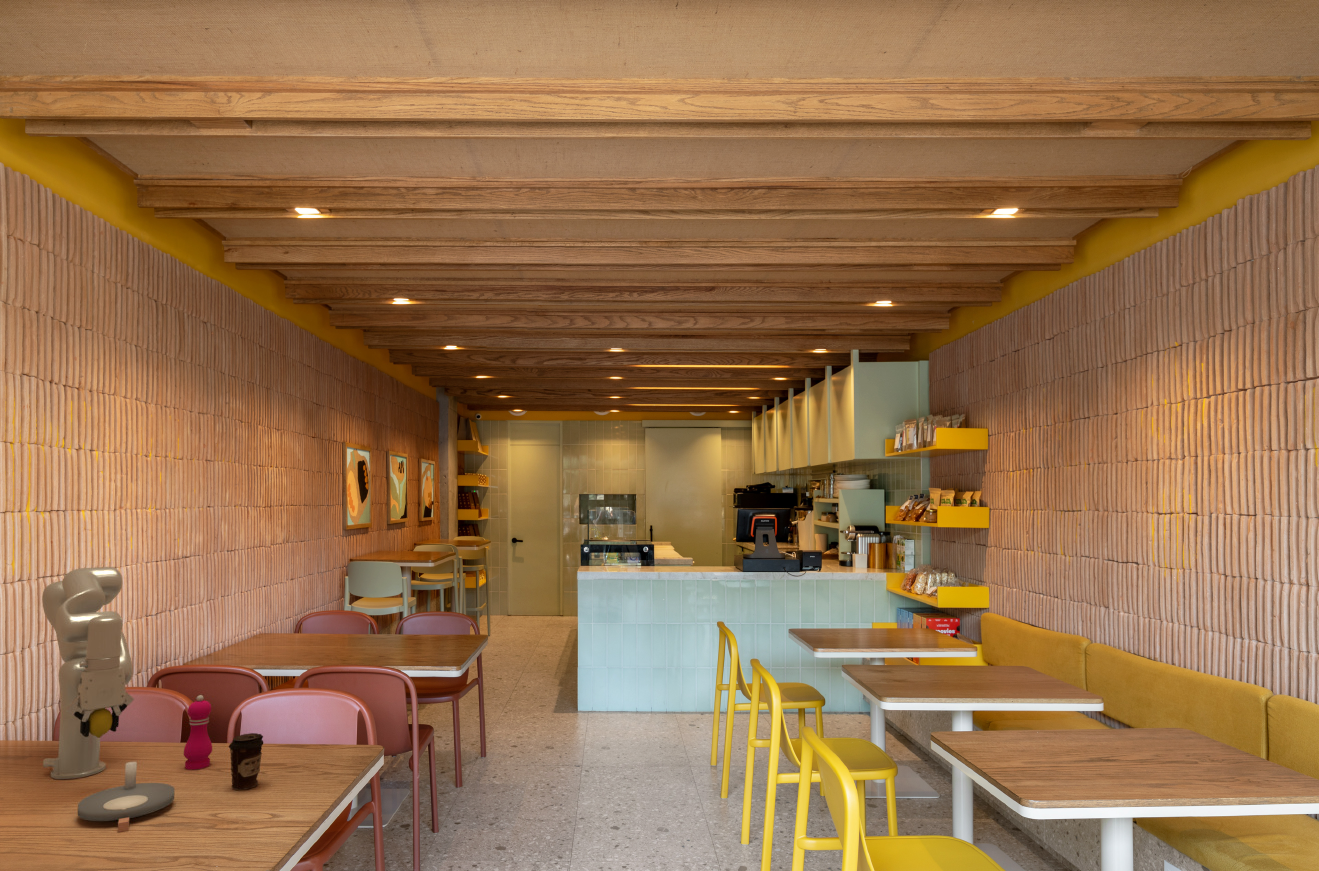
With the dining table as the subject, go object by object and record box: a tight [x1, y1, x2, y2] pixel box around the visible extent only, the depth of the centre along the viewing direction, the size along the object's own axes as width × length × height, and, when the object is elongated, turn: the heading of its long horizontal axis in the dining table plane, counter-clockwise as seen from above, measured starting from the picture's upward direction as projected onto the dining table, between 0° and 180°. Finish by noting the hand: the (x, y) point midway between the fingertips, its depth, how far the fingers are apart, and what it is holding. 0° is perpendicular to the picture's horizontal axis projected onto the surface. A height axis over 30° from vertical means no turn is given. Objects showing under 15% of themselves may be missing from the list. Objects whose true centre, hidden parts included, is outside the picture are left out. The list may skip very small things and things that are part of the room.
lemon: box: [88, 708, 112, 739], centre depth 219 cm, size 6×6×8 cm
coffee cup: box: [228, 732, 264, 791], centre depth 222 cm, size 9×8×13 cm
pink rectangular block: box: [117, 817, 130, 833], centre depth 193 cm, size 3×2×2 cm, turn 29°
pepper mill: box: [183, 694, 213, 771], centre depth 239 cm, size 7×7×20 cm
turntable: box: [77, 761, 176, 822], centre depth 204 cm, size 20×20×8 cm
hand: (99, 732), depth 219 cm, fingers closed on lemon, 5 cm apart
